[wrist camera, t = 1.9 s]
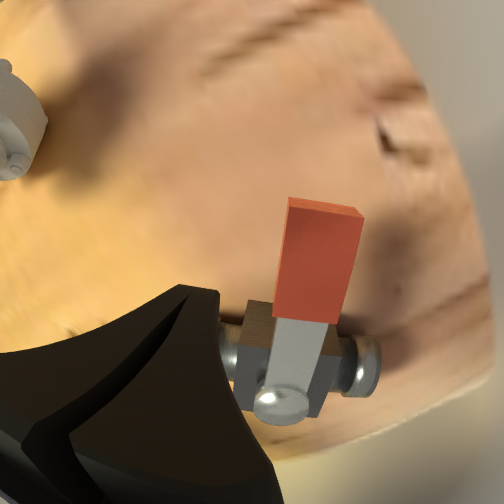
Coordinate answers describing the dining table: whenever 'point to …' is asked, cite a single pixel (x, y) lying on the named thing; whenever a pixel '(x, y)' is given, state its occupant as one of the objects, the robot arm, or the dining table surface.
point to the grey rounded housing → (18, 124)
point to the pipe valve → (326, 371)
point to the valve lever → (305, 302)
